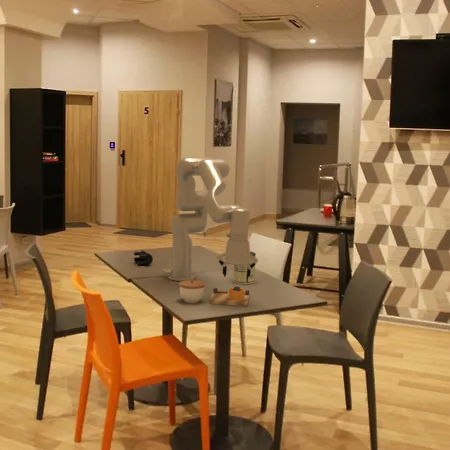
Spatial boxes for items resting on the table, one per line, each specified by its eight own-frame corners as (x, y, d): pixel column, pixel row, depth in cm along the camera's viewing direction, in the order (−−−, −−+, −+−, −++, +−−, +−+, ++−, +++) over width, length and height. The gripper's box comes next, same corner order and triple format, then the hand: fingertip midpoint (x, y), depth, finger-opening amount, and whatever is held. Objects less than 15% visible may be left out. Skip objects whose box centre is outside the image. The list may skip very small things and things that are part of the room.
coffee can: (236, 278, 313) (237, 250, 311) (256, 280, 310) (257, 252, 308) (230, 282, 303) (231, 253, 301) (251, 285, 300) (253, 255, 298)
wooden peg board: (208, 303, 266) (209, 288, 265) (213, 294, 280) (213, 280, 279) (247, 306, 265) (247, 290, 264) (249, 297, 279) (250, 282, 278)
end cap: (152, 266, 332) (153, 253, 331) (139, 267, 329) (140, 254, 328) (146, 262, 341) (146, 249, 340) (133, 263, 338) (133, 250, 337)
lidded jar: (209, 301, 270) (210, 279, 268) (191, 306, 262) (192, 283, 260) (191, 296, 277) (192, 275, 275) (173, 300, 269) (174, 278, 267)
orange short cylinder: (228, 300, 267) (228, 290, 267) (229, 296, 274) (230, 287, 273) (243, 301, 266) (243, 291, 266) (244, 297, 273) (245, 288, 272)
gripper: (217, 237, 263) (214, 277, 266) (258, 240, 262) (256, 281, 265) (219, 234, 271) (217, 273, 274) (260, 237, 269) (257, 276, 272)
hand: (236, 276), depth 269 cm, fingers open, 9 cm apart
